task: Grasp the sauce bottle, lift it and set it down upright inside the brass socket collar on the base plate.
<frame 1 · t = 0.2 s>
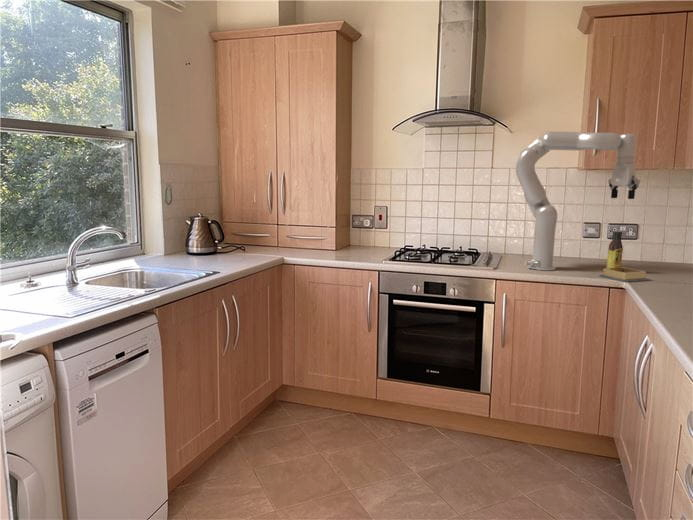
hand: (622, 198, 246), 35 cm above the worktop, tool pointing down, fingers open, 9 cm apart
socket plate: (623, 278, 237), on the worktop
sauce bottle: (613, 272, 252), on the worktop
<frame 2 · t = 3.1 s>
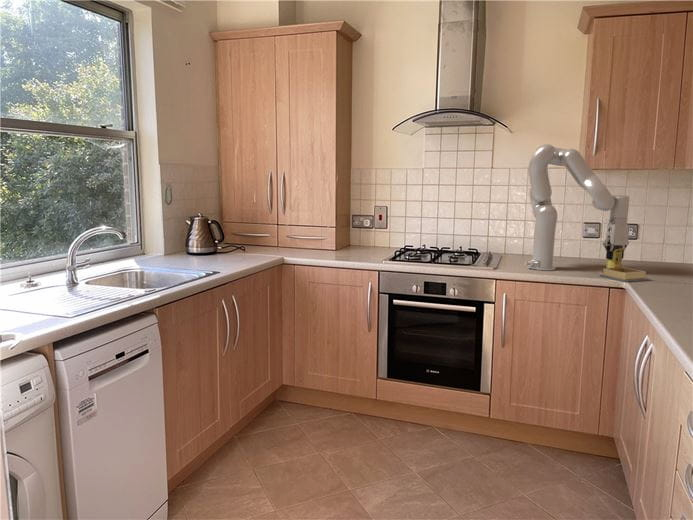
hand: (614, 258, 251), 7 cm above the worktop, tool pointing down, fingers closed on sauce bottle, 6 cm apart
sauce bottle: (613, 272, 252), on the worktop, touching gripper
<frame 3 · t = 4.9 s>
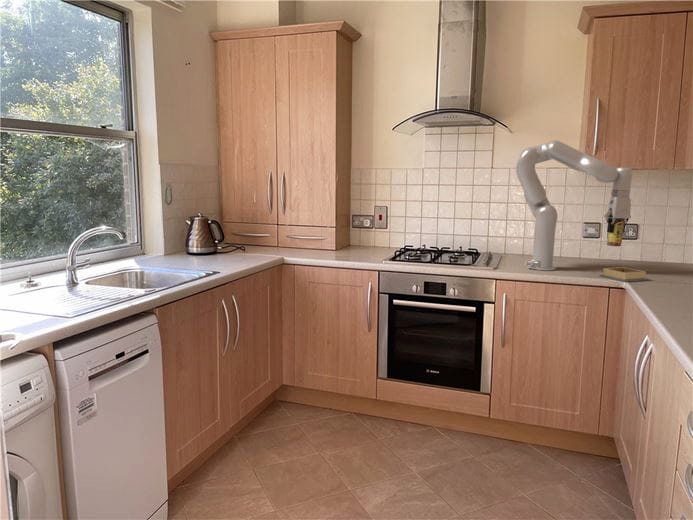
hand: (615, 231, 249), 19 cm above the worktop, tool pointing down, fingers closed on sauce bottle, 6 cm apart
sauce bottle: (613, 246, 250), point 13 cm above the worktop, touching gripper
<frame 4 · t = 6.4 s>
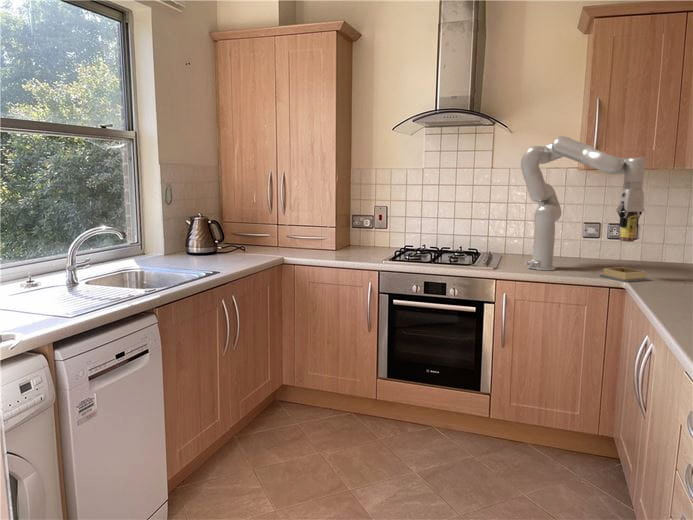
hand: (628, 226, 234), 24 cm above the worktop, tool pointing down, fingers closed on sauce bottle, 6 cm apart
sauce bottle: (626, 241, 235), point 17 cm above the worktop, touching gripper
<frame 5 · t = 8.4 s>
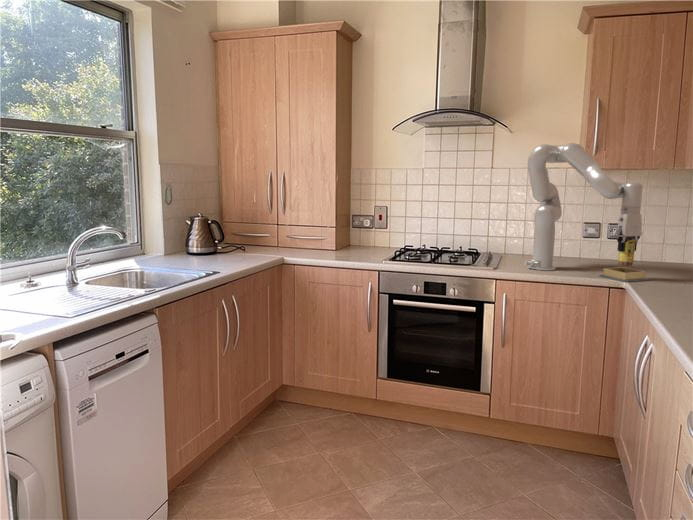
hand: (626, 250, 235), 13 cm above the worktop, tool pointing down, fingers closed on sauce bottle, 6 cm apart
sauce bottle: (625, 265, 236), point 6 cm above the worktop, touching gripper
when the fingers open (8 cm above the worktop, at t = 9.8 s): sauce bottle stays where it is, resting on socket plate.
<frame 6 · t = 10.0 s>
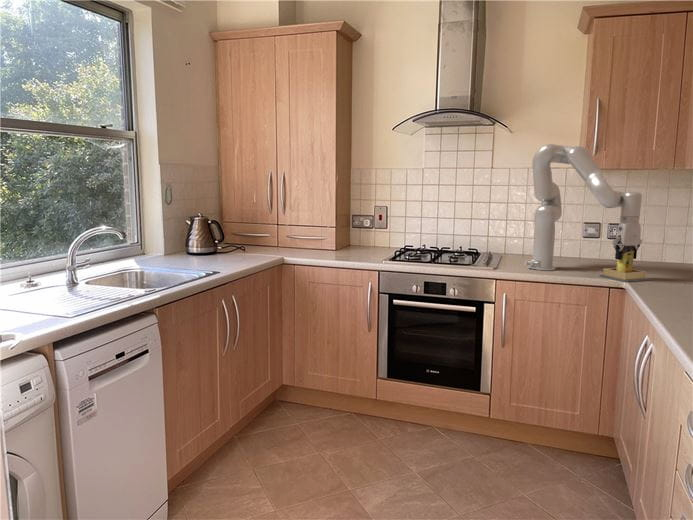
hand: (625, 258, 236), 9 cm above the worktop, tool pointing down, fingers open, 8 cm apart
sauce bottle: (623, 276, 237), point 1 cm above the worktop, touching socket plate
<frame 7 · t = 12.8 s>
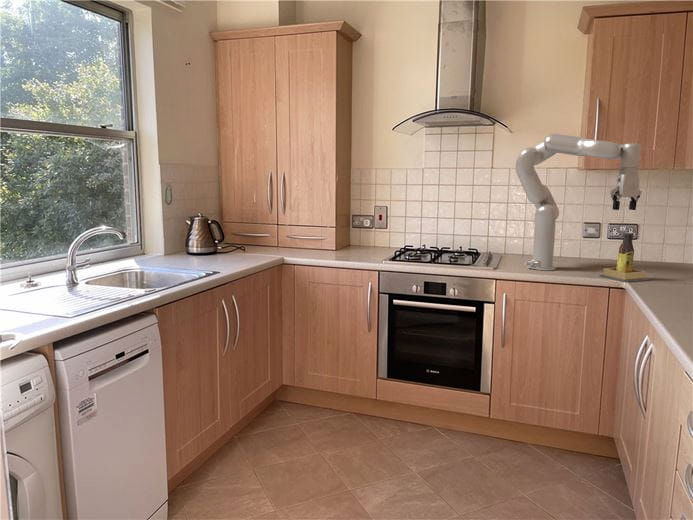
hand: (623, 209, 238), 31 cm above the worktop, tool pointing down, fingers open, 9 cm apart
nothing on the worktop moved.
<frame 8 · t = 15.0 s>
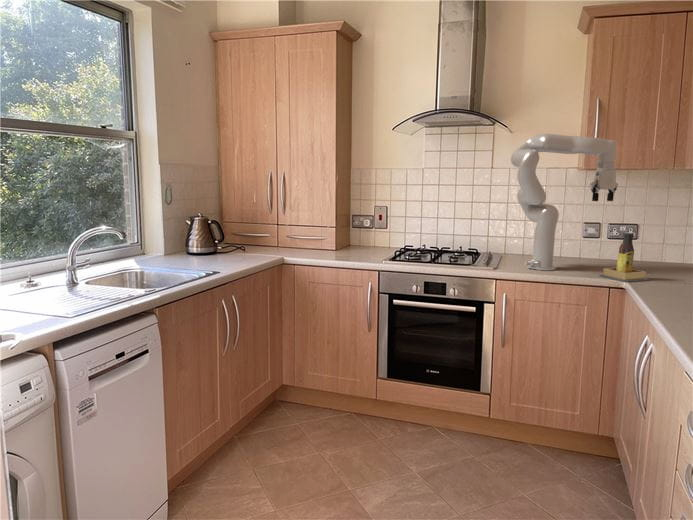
hand: (602, 201, 259), 33 cm above the worktop, tool pointing down, fingers open, 9 cm apart
nothing on the worktop moved.
at the end: sauce bottle 0.2 cm off-centre on the socket plate, point 0.6 cm above the socket plate's base; sauce bottle tilted 0°; the gripper is holding nothing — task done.
